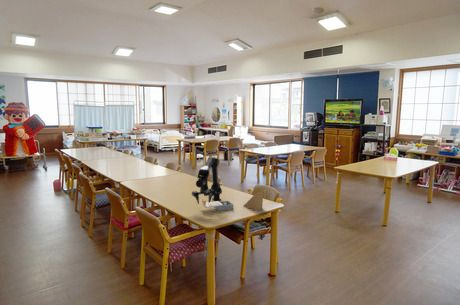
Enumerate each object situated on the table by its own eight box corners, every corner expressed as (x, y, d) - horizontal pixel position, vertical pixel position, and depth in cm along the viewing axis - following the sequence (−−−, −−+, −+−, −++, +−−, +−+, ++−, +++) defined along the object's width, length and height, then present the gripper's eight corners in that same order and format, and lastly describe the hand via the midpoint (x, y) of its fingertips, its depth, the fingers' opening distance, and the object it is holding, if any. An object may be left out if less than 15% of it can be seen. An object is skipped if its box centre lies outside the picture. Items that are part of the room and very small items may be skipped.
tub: (213, 207, 254) (214, 202, 253) (228, 205, 259) (228, 200, 259) (218, 211, 245) (218, 206, 244) (233, 209, 251) (233, 204, 250)
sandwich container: (249, 204, 265) (249, 187, 262) (262, 208, 253) (263, 191, 251) (242, 206, 259) (242, 189, 257) (255, 210, 248) (256, 193, 245)
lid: (200, 203, 248) (200, 198, 248) (217, 201, 255) (217, 196, 254) (205, 207, 239) (205, 202, 238) (223, 205, 246) (223, 199, 245)
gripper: (196, 188, 230) (196, 207, 232) (218, 185, 238) (218, 204, 240) (191, 184, 240) (191, 203, 242) (213, 182, 248) (213, 200, 250)
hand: (203, 203), depth 244 cm, fingers open, 9 cm apart
